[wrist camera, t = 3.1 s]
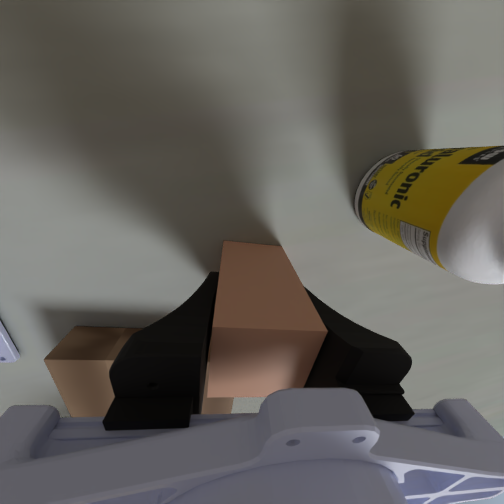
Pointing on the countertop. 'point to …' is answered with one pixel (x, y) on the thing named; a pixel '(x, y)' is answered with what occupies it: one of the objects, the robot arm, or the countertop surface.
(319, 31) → the countertop surface
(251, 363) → the terracotta peg
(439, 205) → the supplement bottle
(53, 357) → the walnut socket block
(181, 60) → the countertop surface
